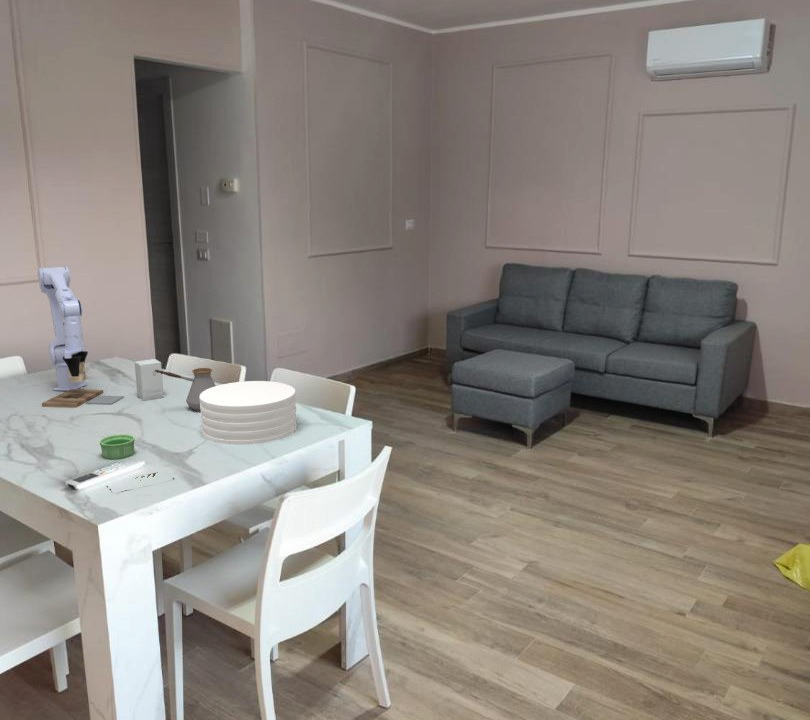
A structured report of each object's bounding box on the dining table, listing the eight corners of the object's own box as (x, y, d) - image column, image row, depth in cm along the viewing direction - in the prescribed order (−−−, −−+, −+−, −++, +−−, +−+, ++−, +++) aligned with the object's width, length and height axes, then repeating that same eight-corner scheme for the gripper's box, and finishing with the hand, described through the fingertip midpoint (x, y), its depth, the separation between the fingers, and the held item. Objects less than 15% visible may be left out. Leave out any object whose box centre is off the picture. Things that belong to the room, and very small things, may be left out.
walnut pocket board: (71, 392, 264) (71, 388, 264) (103, 393, 263) (103, 389, 263) (42, 406, 247) (41, 403, 247) (76, 407, 245) (75, 404, 245)
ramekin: (135, 458, 199) (133, 443, 198) (99, 462, 196) (97, 446, 195) (136, 447, 207) (135, 432, 206) (102, 450, 205) (101, 435, 204)
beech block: (74, 379, 255) (72, 362, 253) (86, 378, 255) (84, 361, 254) (69, 381, 251) (67, 364, 250) (81, 381, 251) (79, 364, 250)
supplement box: (164, 397, 257) (161, 362, 254) (142, 401, 253) (139, 365, 250) (158, 392, 263) (155, 358, 260) (137, 396, 259) (133, 361, 256)
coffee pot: (216, 401, 252) (213, 358, 249) (227, 409, 243) (224, 364, 240) (152, 411, 241) (148, 366, 238) (161, 420, 232) (157, 373, 228)
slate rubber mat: (99, 396, 258) (99, 395, 258) (124, 397, 257) (124, 396, 257) (86, 403, 250) (85, 402, 250) (111, 404, 249) (111, 403, 249)
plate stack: (182, 438, 215) (179, 400, 213) (237, 411, 241) (235, 377, 238) (264, 449, 205) (262, 410, 203) (313, 421, 231) (311, 385, 228)
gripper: (68, 331, 256) (72, 369, 259) (52, 339, 242) (57, 380, 245) (89, 331, 257) (93, 369, 260) (75, 339, 243) (79, 379, 246)
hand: (77, 374), depth 252 cm, fingers closed on beech block, 4 cm apart
